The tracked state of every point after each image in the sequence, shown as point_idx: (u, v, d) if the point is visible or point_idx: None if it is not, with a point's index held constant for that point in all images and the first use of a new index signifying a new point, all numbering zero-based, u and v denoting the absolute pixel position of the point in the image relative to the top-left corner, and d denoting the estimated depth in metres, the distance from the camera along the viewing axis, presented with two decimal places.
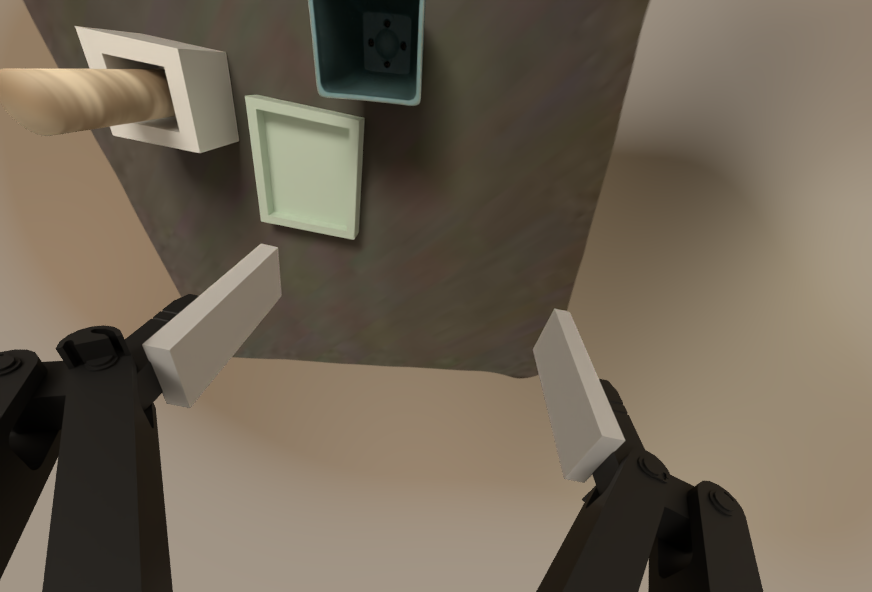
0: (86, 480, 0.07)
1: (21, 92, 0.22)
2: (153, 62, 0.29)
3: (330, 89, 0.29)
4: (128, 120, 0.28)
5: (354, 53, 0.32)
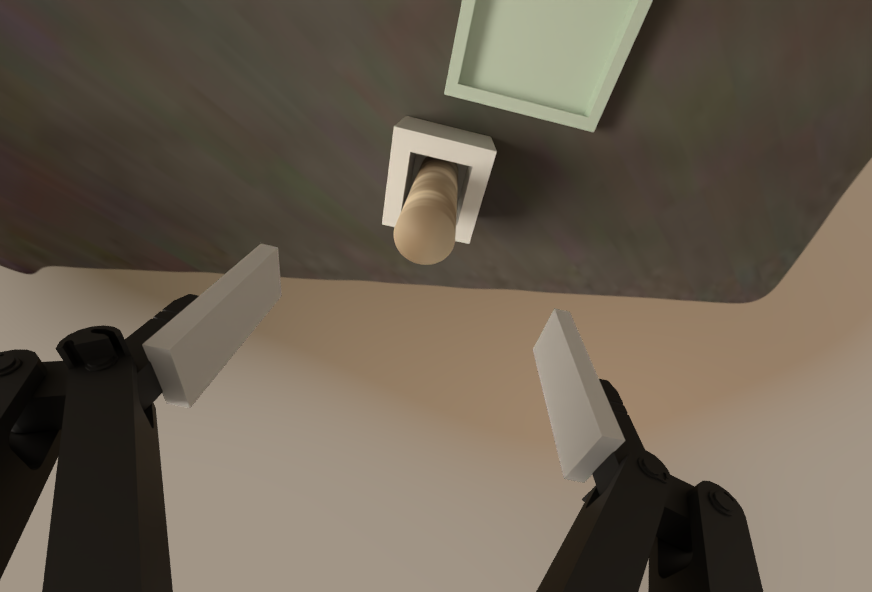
0: (86, 480, 0.07)
1: (413, 235, 0.21)
2: (406, 162, 0.28)
3: None
4: (453, 193, 0.25)
5: None
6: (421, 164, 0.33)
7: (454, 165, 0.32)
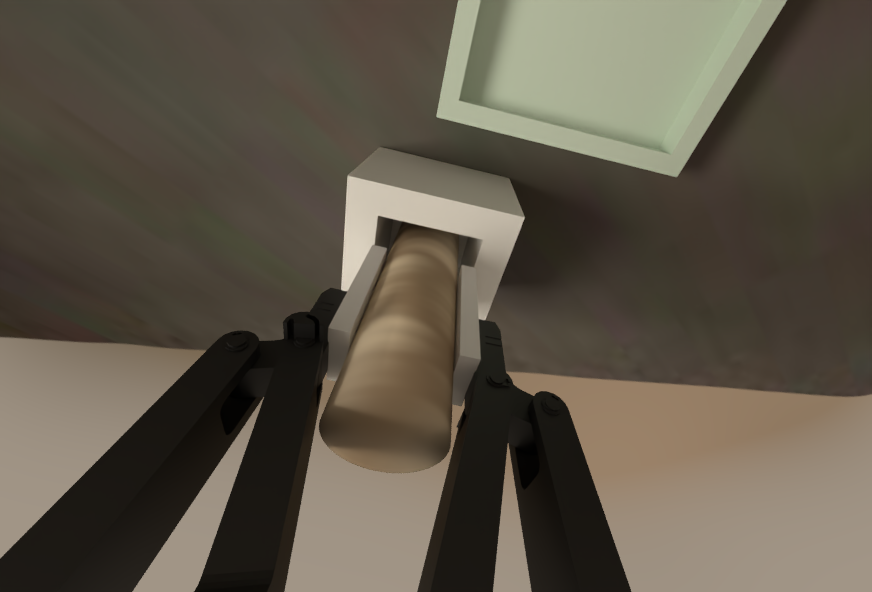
0: (269, 438, 0.08)
1: (362, 434, 0.10)
2: (373, 230, 0.17)
3: None
4: (449, 299, 0.14)
5: None
6: None
7: None
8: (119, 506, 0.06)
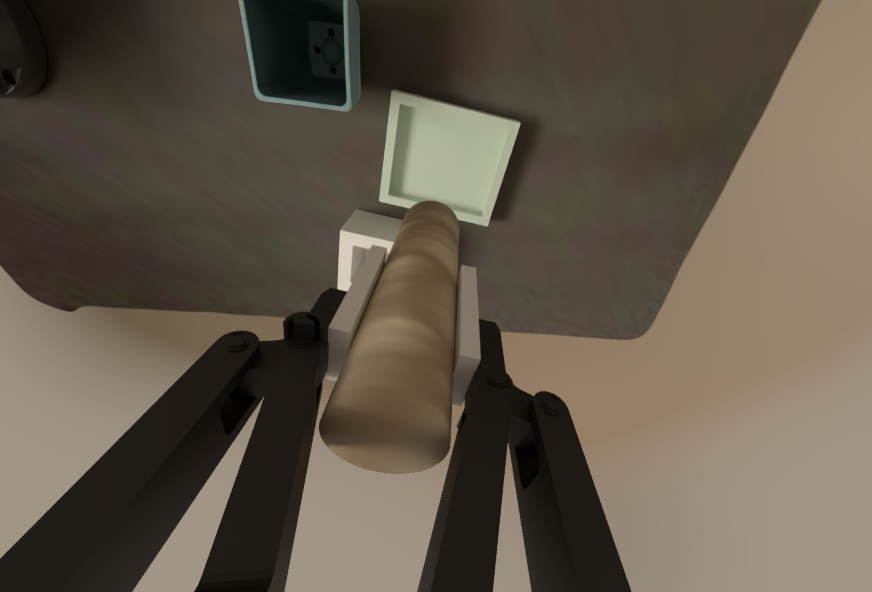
0: (269, 438, 0.08)
1: (362, 435, 0.10)
2: (351, 251, 0.40)
3: None
4: (449, 300, 0.14)
5: (339, 86, 0.35)
6: (403, 220, 0.22)
7: (453, 224, 0.21)
8: (119, 506, 0.06)
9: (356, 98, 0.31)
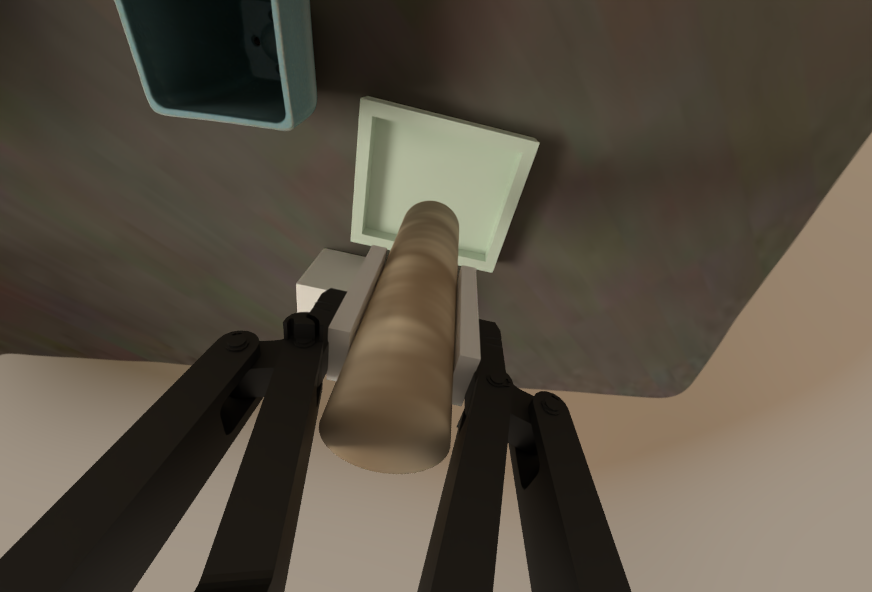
0: (269, 438, 0.08)
1: (361, 435, 0.10)
2: None
3: None
4: (449, 300, 0.14)
5: None
6: (403, 220, 0.22)
7: (453, 224, 0.21)
8: (119, 506, 0.06)
9: (305, 110, 0.22)
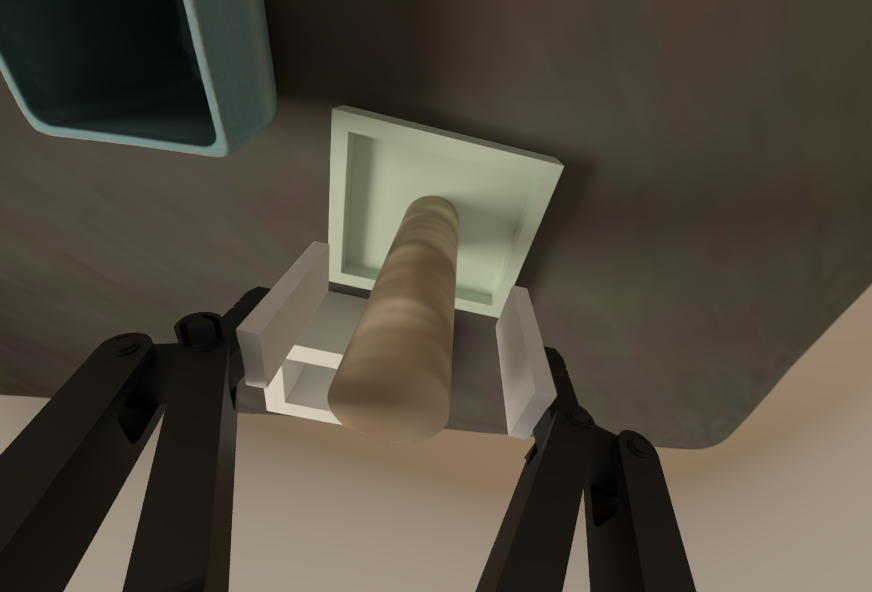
0: (179, 450, 0.07)
1: (367, 404, 0.11)
2: None
3: None
4: (448, 286, 0.15)
5: None
6: None
7: (452, 218, 0.21)
8: (6, 534, 0.06)
9: (252, 127, 0.16)
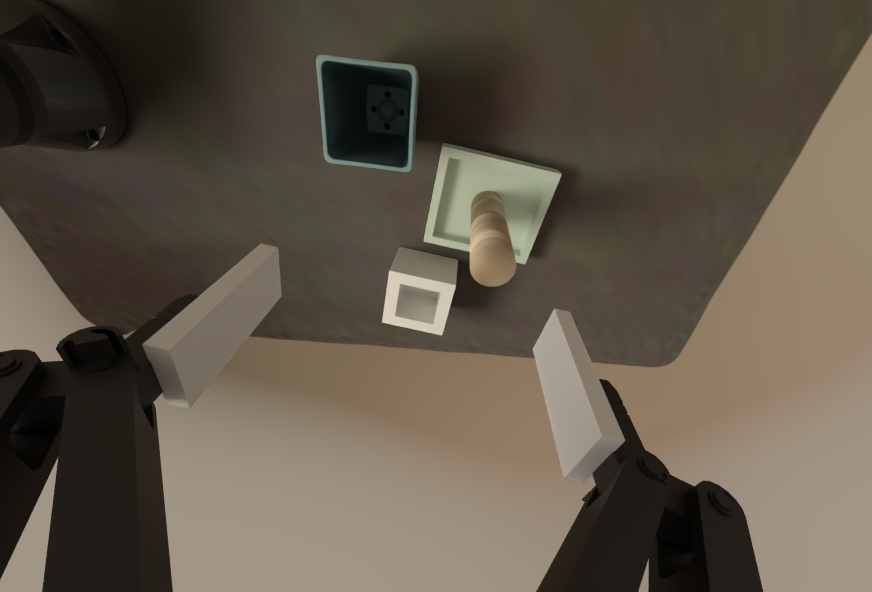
0: (86, 480, 0.07)
1: (485, 265, 0.29)
2: (398, 289, 0.43)
3: (408, 161, 0.33)
4: (507, 230, 0.33)
5: (393, 142, 0.38)
6: (473, 201, 0.41)
7: (501, 202, 0.39)
8: None
9: (413, 157, 0.34)
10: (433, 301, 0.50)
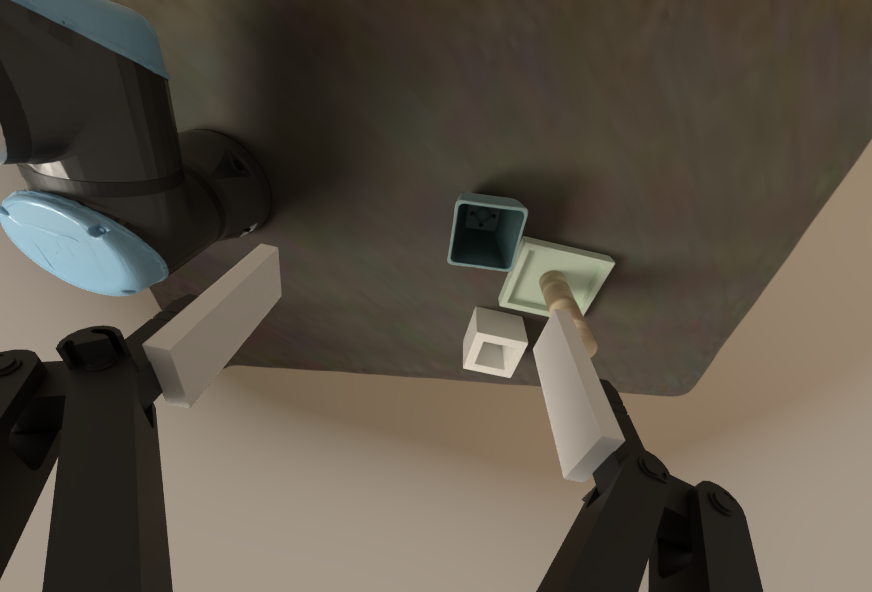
0: (86, 480, 0.07)
1: None
2: (481, 345, 0.54)
3: (508, 262, 0.44)
4: None
5: (486, 237, 0.49)
6: (543, 278, 0.52)
7: (566, 281, 0.51)
8: None
9: None
10: (499, 348, 0.61)
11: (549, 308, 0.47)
